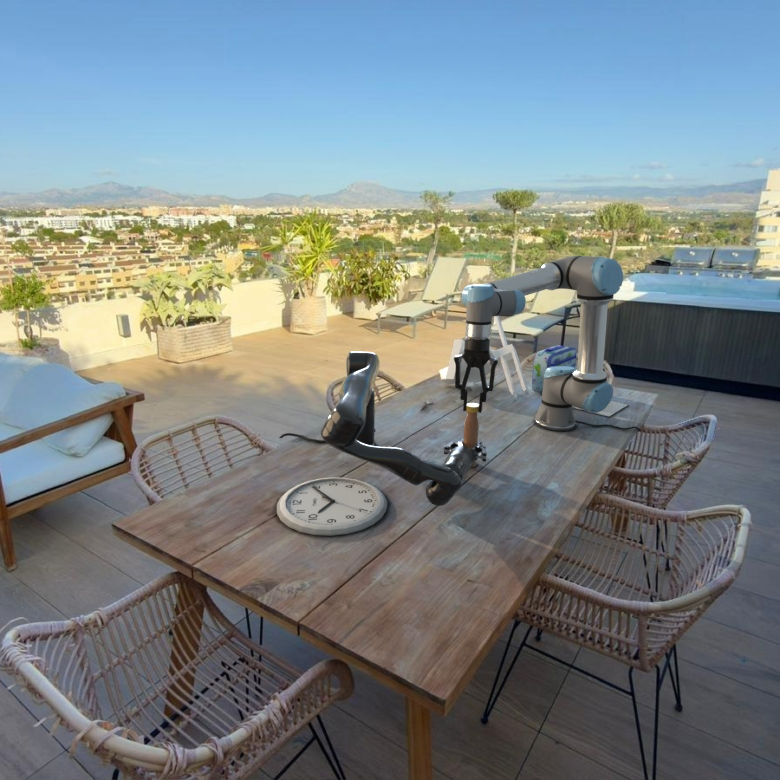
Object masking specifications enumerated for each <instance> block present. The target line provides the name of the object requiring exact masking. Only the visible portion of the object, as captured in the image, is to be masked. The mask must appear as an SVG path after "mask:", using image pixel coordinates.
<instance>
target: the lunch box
mask: <svg viewBox="0 0 780 780" xmlns="http://www.w3.org/2000/svg"><path fill="white" fill-rule="evenodd" d="M576 362H577V348H576V347H571V346H565V345H553V346H550V347H546V348H545V349H542V350H539V351H538V352H537V353H536V354H535V356H534V358H533V365H532V376H531V377H532V378H531V390H532V391H533V392H537V393H541V394H542V390H543V379H544V374H545V370H546V369H547V368H549V367H555V366H569V367H575V368H576V364H577V363H576Z"/></svg>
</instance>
